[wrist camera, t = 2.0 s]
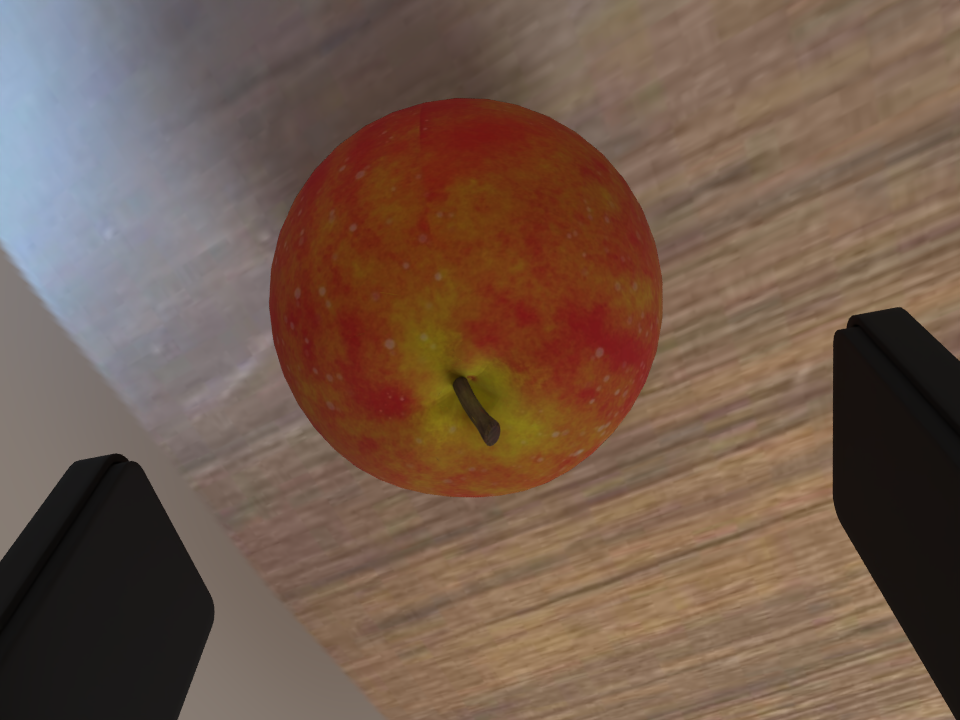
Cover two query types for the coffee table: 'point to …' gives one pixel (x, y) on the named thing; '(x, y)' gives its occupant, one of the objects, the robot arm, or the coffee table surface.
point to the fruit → (465, 298)
